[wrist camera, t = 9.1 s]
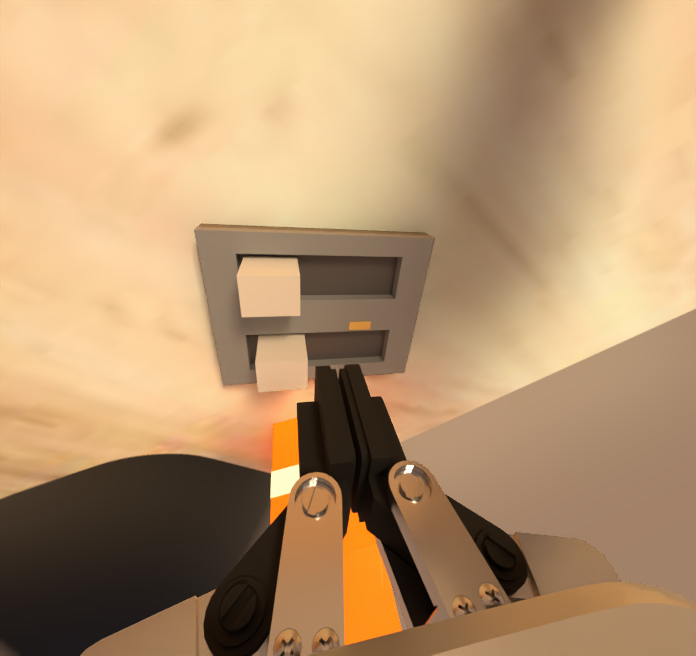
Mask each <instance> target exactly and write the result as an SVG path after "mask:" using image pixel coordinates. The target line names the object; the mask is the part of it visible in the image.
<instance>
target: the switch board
mask: <svg viewBox="0 0 696 656" xmlns="http://www.w3.org/2000/svg"><path fill="white" fill-rule="evenodd" d="M194 232H195V237H196V242H197V248H198V253H199V258H200V264H201V269H202V274H203V280H204V285H205V290H206V296H207V301H208V306H209V312H210V317H211V322H212V328H213V333H214V338H215V344H216V349H217V354H218V360H219V365H220V370H221V376H222V381H223V385H237V384H251V383H257V376H256V367H255V360H256V352H257V344H258V337H259V335H263V334H290V333H304V335H305V343H306V350H307V358H308V379H315V367H316V366H328V365H330V367H331V369H336V372H337V376H338V377H339V369H342V368H344V365H347V364H359V365H360V367H361V370H362V373H363V376H364V375H378V374H393V373H404V372H405V368H406V363H407V359H408V355H409V350H410V346H411V341H412V337H413V332H414V328H415V324H416V319H417V315H418V310H419V306H420V301H421V297H422V293H423V288H424V284H425V279H426V275H427V270H428V266H429V262H430V257H431V253H432V248H433V244H434V239H435V238H433V237H432V236H430V235H428V234H426V233H418V232H393V231H368V230H343V229H318V228H293V227H267V226H242V225H217V224H200V225H199V226H198V227H197V228H196V229H194ZM244 256H271V257H297V259H298V266H299V272H300V316H274V317H242V316H241V308H240V300H239V292H238V284H237V273H238V271H239V268H240V265H241V263H242V260H243V257H244Z"/></svg>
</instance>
